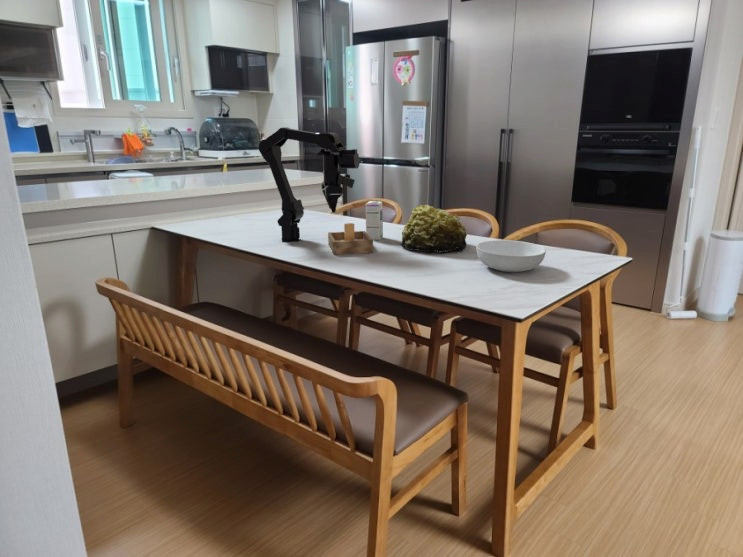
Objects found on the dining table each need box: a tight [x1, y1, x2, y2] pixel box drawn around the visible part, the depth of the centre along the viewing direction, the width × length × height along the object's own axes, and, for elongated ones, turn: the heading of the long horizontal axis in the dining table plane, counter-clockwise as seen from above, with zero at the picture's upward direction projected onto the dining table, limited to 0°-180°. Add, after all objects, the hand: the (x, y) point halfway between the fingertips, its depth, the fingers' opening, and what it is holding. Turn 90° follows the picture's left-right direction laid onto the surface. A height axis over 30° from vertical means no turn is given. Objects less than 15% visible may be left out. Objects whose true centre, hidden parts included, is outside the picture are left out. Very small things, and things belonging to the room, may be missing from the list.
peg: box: [343, 222, 355, 241], centre depth 186 cm, size 4×4×9 cm
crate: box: [327, 230, 374, 255], centre depth 187 cm, size 14×17×4 cm
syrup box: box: [364, 200, 384, 241], centre depth 201 cm, size 6×6×14 cm
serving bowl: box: [475, 239, 547, 273], centre depth 159 cm, size 21×21×7 cm
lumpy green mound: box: [400, 204, 468, 254], centre depth 187 cm, size 25×24×16 cm
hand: (332, 210), depth 192 cm, fingers open, 9 cm apart
